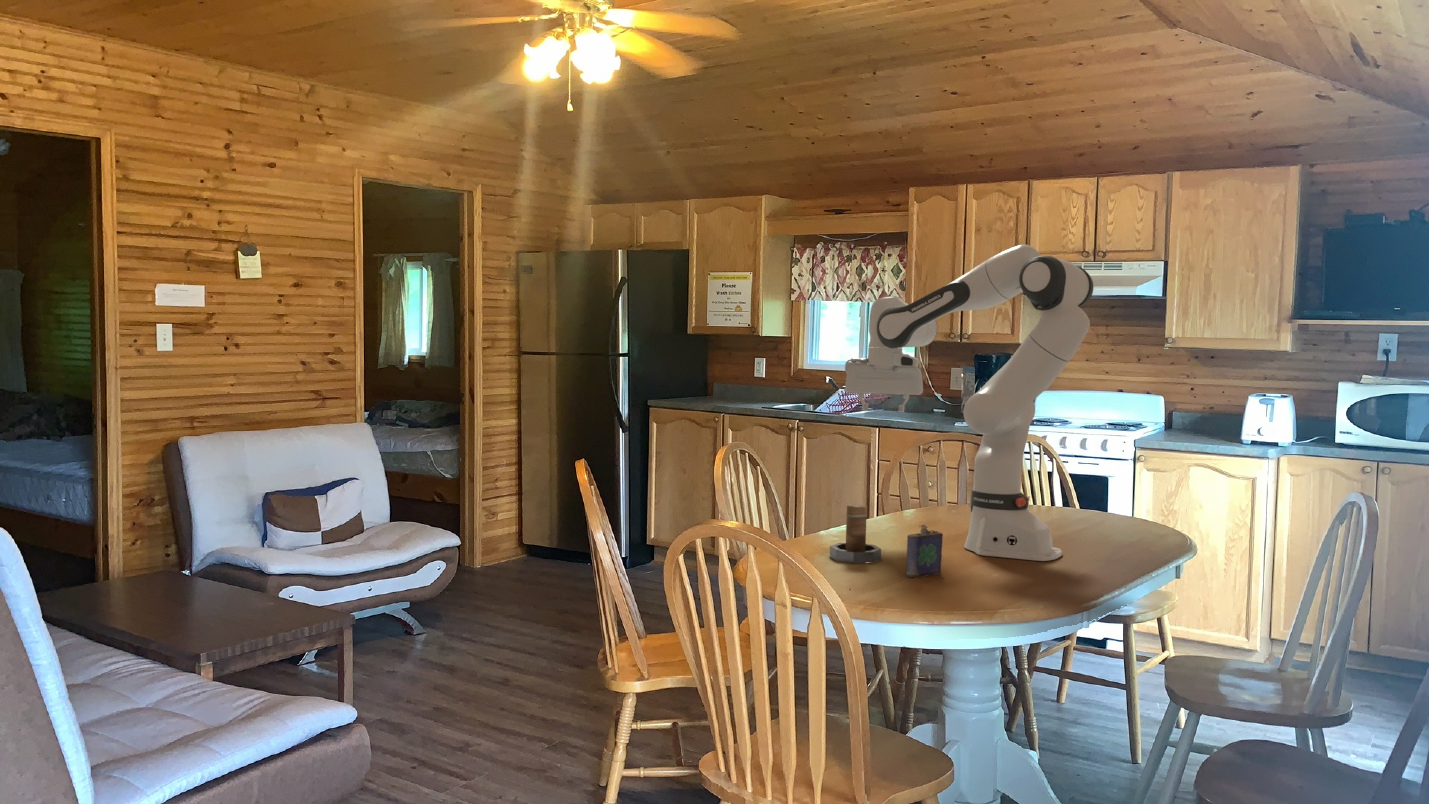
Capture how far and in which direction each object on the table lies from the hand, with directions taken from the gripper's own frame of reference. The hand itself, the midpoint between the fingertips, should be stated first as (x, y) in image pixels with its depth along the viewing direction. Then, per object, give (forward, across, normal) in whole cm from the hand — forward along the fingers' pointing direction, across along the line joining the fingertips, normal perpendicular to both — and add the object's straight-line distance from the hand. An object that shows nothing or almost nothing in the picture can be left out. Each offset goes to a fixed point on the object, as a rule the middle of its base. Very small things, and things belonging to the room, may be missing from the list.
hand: (883, 411), depth 281 cm
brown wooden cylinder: (+31, -2, -41) cm, 51 cm away
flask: (+31, +14, -53) cm, 63 cm away
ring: (+31, -2, -41) cm, 51 cm away
